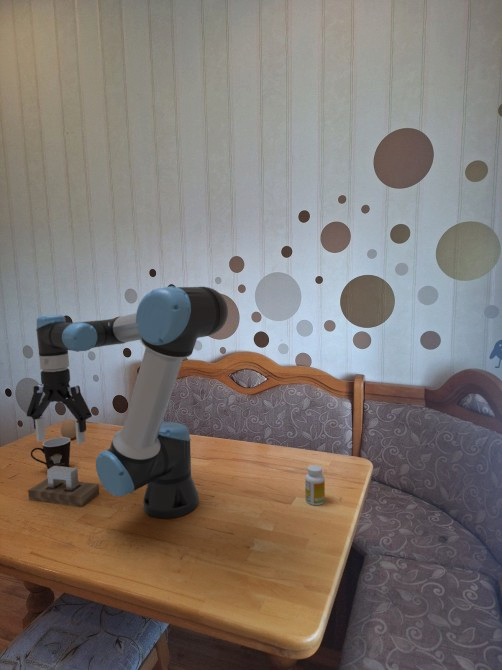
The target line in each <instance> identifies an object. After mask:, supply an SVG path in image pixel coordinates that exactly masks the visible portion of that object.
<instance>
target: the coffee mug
mask: <svg viewBox="0 0 502 670" xmlns="http://www.w3.org/2000/svg"><path fill="white" fill-rule="evenodd" d="M71 440H72V439H70V438H67V437H63V436H59V437H54V438H50V439H47V440H45V441H43V442H42V447H35V448H33V449H32V450H31V452H30V457H31V459H33V460H34V461H36V462H38V463H41V464H43V465H45V467H47V470H48V469H50V468H51V467H53V466H61V467H70V455H71ZM37 450H39V451H41V452H42V453H43V454H44V458H45V461H44V460H40V459H38V458H36V456H34V455H33V452H35V451H37Z"/></svg>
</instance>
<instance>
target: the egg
mask: <svg viewBox="0 0 502 670" xmlns="http://www.w3.org/2000/svg"><path fill="white" fill-rule="evenodd" d="M75 422H76V421H75V420H73V419H71V418H68V419H66V420H64V421H63V422H62V424H61V427H60V434H61V437H67V438H70V440H72V439H74V438H76V426H75Z"/></svg>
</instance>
